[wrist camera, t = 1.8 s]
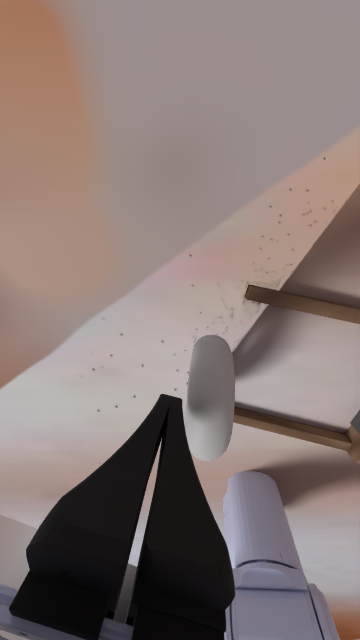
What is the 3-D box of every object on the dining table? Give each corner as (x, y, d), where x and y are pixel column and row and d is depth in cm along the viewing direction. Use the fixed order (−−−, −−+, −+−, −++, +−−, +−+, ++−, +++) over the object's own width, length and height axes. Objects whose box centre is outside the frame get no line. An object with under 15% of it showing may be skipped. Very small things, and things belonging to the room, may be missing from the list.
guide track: (352, 443, 22) (369, 466, 20) (207, 407, 23) (207, 425, 21) (447, 326, 16) (487, 339, 14) (248, 284, 17) (255, 289, 15)
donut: (195, 317, 19) (185, 379, 10) (228, 319, 19) (251, 386, 10) (190, 392, 23) (180, 489, 14) (218, 395, 22) (227, 498, 13)
